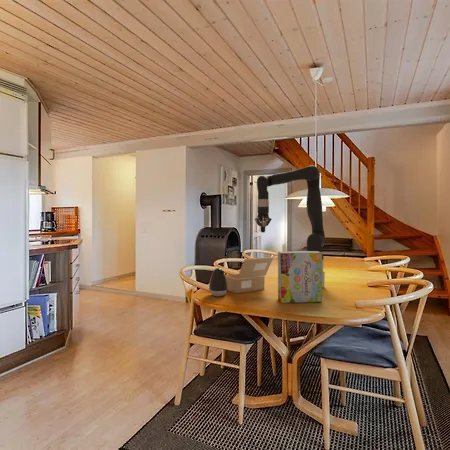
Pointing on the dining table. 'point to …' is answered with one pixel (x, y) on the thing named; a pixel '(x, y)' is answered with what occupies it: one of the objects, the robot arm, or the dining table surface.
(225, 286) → the dark grey egg shape
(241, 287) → the mailer box
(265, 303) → the dining table surface
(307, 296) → the snack box
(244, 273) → the lid
